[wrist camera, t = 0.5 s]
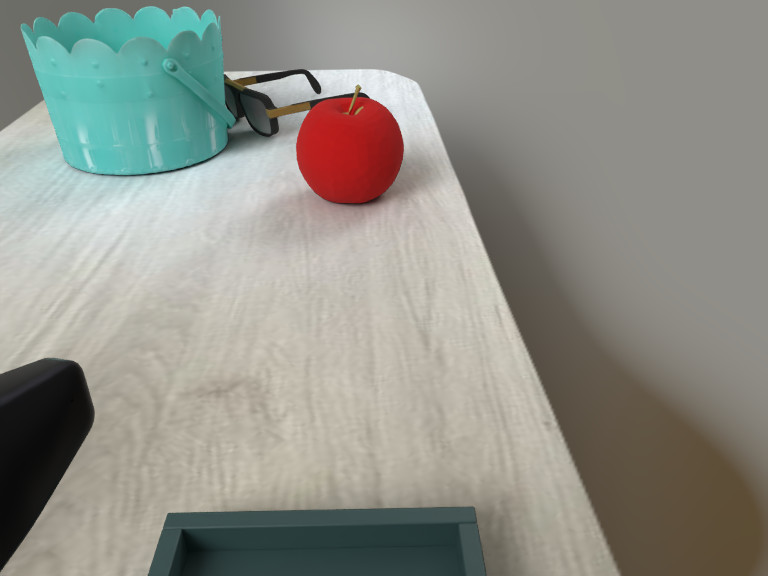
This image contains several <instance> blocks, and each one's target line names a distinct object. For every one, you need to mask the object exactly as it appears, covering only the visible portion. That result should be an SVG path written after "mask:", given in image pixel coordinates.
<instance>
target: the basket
mask: <svg viewBox="0 0 768 576" xmlns="http://www.w3.org/2000/svg"><path fill="white" fill-rule="evenodd" d="M33 29H34V33H33V32H32V30H31V28H30V27H29V26H27V25H26V24H22V25H21V30H22V34H23V37H24V40H25V43H26V46H27V49H28V51H29V55H30V57H31V60H32V63H33V67H34V70H35V73H36V76H37V79H38V82H39V85H40V87H41V90H42V92H43V96H44V99H45V102H46V105H47V108H48V111H49V114H50V118H51V120H52V123H53V125H54V128H55V132H56V135H57V138H58V140H59V143H60V146H61V149H62V152H63V156H64V159H65V161H67V163H68V164H70V165H71V166H72V167H74V168H77V169H80V170H83V171H86V172H90V173H96V174H109V175H112V174H115V175H136V174H147V173H157V172H163V171H168V170H174V169H177V168H183V167H185V166H190V165H192V164H194V163H199V162H200V161H204V160H206V159H207V158H211V157H212V156H214V155H216V154H217V153H219V152H220V151H221V150H223V149H224V147H225V146H226V144H227V142H228V134H227V128H228V129H231V128H232V126H233V125H234V123H235V122H236V119H235V118H234V116H233V114H232V113H231V112H230V111H229V110H228V109H227V108H226V107H225V91H224V70H223V52H222V36H221V26H220V16H219V19H218V23H217V19H216V16H215V14H214V12H213V11H212V10H210V9H209V10H207V11H206V12H205V13H204V14H203V15H202V17H201V20H200V19H199V17H198V15H197V13H196V12H195V11H194V10H193V9H191V8H189V7H182V8H178V9H177V10H176V9H173V15H172V16H171V19H170V18H169V16H168V15H167V13H166V12H165V11H163V10H162V9H160V8H157V7H153V6H149V7H145V8H142V9H140V10H139V11H138V12H137V13H136V14H135V16H134V19H132V18H131V16H129V15H128V14H127V13H126V12H124V11H122V10H120V9H116V8H108V9H103V10H101V11H100V12H99V13H98V14H97V15H96V16H95V22H91V20H90V19H88V18H87V17H86V16H84V15H82V14H80V13H77V12H68V13H66V14H64V15H63V16H62V17H61V18H60V21H59V25H58V28H57V27H56V26H55V25H54V24H53V23H52V22H51V21H49V20H48V19H46V18H43V17H39V18H37V19H35V21H34V27H33Z"/></svg>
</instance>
